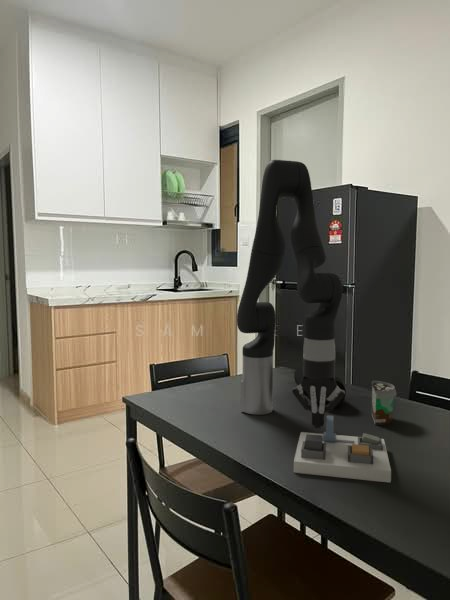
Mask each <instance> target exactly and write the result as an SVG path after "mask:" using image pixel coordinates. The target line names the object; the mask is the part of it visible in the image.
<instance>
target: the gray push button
mask: <svg viewBox="0 0 450 600" xmlns="http://www.w3.org/2000/svg"><path fill="white" fill-rule="evenodd" d="M322 441H323V436H320V435H308V434H307V435H306V439H305V450H316V451H322Z"/></svg>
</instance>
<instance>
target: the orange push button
mask: <svg viewBox="0 0 450 600" xmlns="http://www.w3.org/2000/svg"><path fill="white" fill-rule="evenodd" d="M351 454H359V455H369V446H368V445H357V444H352V452H351Z"/></svg>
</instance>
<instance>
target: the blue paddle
mask: <svg viewBox="0 0 450 600" xmlns="http://www.w3.org/2000/svg"><path fill="white" fill-rule="evenodd" d="M325 421H326V422H325V425H326V426H325V431H323V433H322V434H323V441H334V442H336V435H337V432H334V415H326V420H325Z"/></svg>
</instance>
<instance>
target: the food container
mask: <svg viewBox="0 0 450 600" xmlns="http://www.w3.org/2000/svg"><path fill="white" fill-rule="evenodd" d="M397 395H398V394H397V389H396V388H395V386H394V384H392V383H389V382H386V381H379V380H371V416H372V419H373V422H374V426H386V425H389V424H391V423H392V420H393V419H392V418H393V409H394V402H395V401H394V400H395V398H396V396H397ZM385 424H386V425H385Z"/></svg>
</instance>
